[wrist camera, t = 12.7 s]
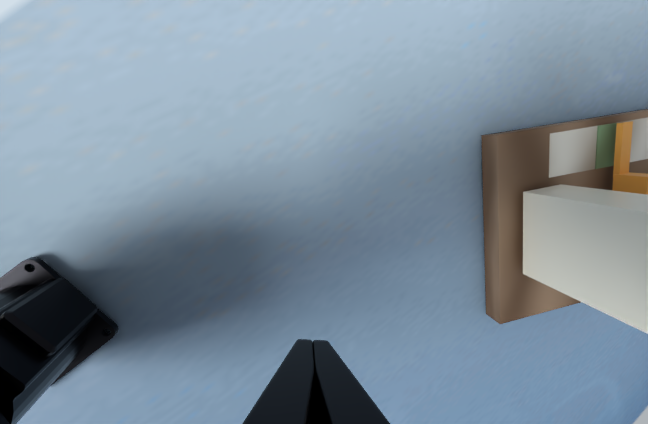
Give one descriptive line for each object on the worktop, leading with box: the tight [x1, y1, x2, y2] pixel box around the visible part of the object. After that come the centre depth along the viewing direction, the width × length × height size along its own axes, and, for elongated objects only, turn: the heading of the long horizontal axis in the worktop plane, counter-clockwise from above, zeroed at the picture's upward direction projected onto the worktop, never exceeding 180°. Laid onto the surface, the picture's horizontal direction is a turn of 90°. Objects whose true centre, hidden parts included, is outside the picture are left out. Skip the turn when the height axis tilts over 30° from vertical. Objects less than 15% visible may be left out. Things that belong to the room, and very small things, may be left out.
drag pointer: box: [612, 121, 648, 195], centre depth 21 cm, size 1×5×2 cm, turn 8°
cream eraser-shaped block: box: [523, 184, 648, 334], centre depth 17 cm, size 7×6×9 cm
